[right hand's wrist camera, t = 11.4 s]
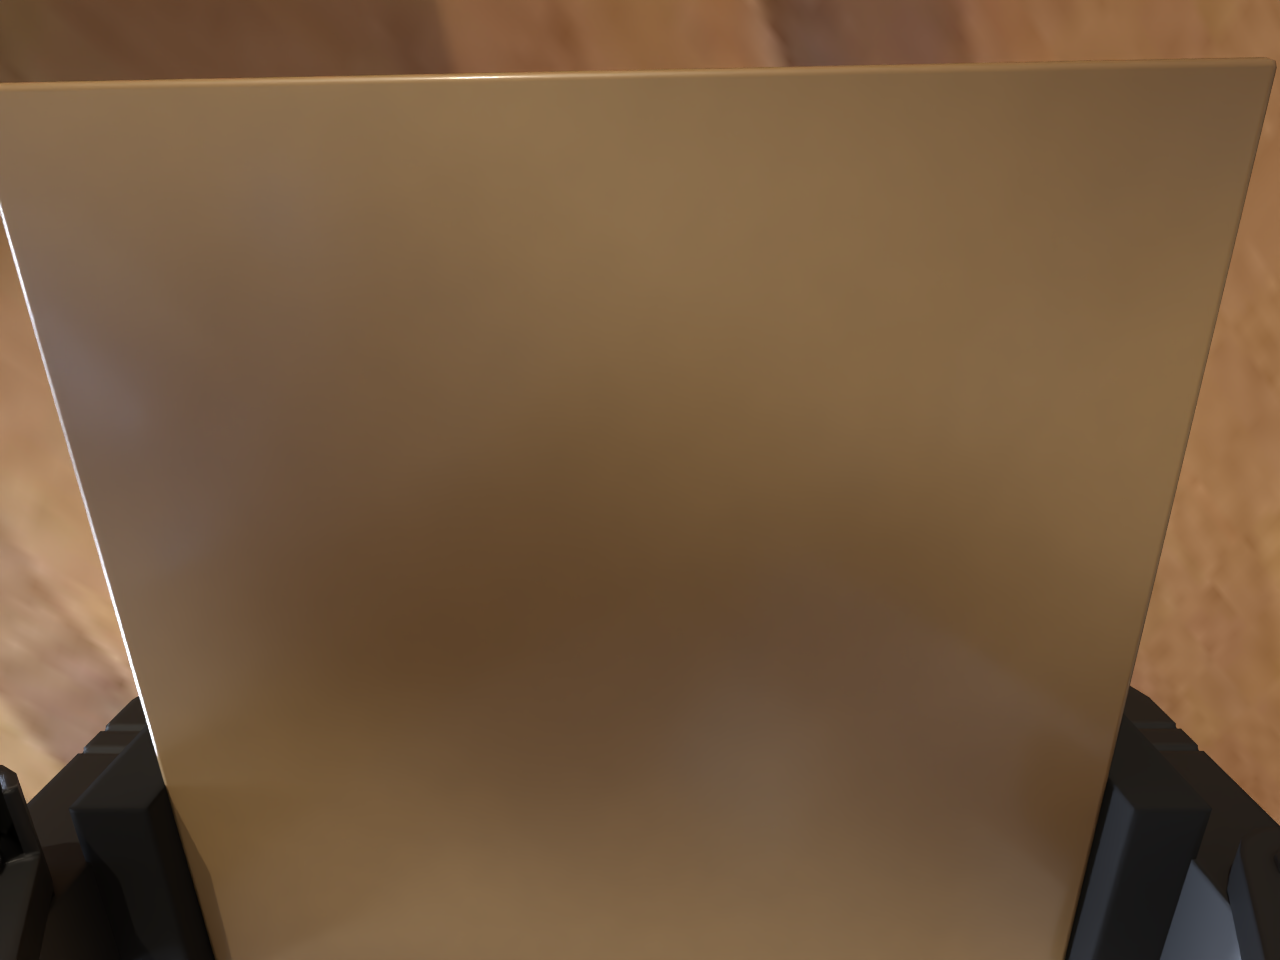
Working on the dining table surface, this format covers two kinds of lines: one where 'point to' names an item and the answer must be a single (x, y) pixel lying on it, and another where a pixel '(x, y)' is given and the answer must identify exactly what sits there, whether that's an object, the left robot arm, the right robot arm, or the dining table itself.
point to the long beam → (633, 484)
